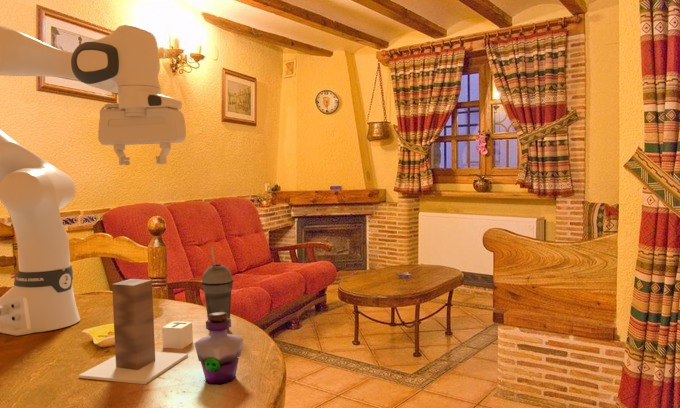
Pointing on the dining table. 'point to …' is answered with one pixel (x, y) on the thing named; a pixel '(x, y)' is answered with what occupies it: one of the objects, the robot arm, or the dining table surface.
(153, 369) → the white square plate
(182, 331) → the letter cube
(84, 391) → the dining table surface
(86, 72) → the robot arm
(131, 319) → the walnut block
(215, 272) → the beverage cup
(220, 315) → the potion bottle
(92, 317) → the dining table surface
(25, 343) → the dining table surface
